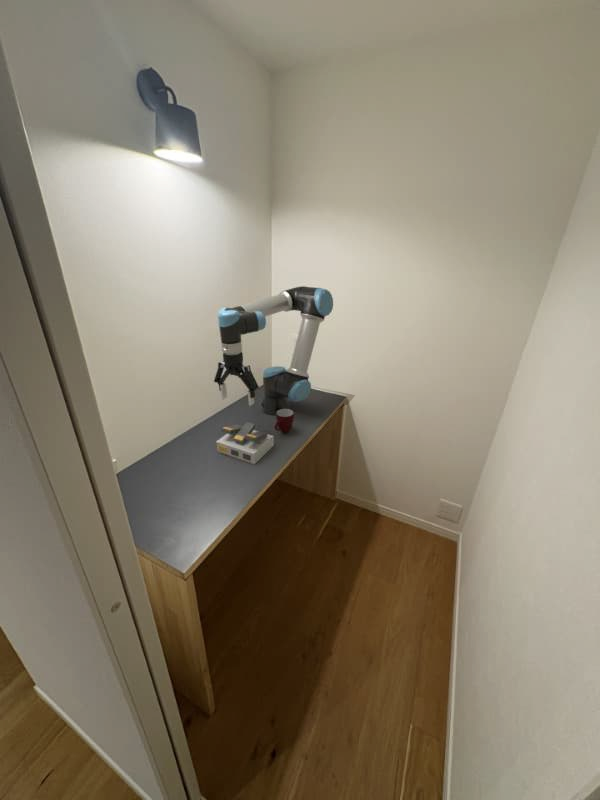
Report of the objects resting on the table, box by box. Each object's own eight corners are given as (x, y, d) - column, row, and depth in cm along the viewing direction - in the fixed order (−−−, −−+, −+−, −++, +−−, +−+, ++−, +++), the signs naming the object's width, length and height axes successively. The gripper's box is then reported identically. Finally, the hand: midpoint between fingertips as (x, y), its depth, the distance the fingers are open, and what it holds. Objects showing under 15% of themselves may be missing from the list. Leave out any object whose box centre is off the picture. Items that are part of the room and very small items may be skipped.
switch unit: (238, 434, 146) (237, 421, 143) (273, 445, 138) (273, 432, 135) (217, 451, 134) (215, 438, 131) (253, 464, 126) (252, 450, 123)
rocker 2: (247, 424, 137) (246, 421, 136) (255, 426, 135) (254, 423, 134) (234, 441, 131) (233, 438, 130) (243, 443, 129) (241, 441, 128)
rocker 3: (258, 434, 136) (259, 430, 135) (267, 437, 134) (267, 432, 134) (244, 439, 127) (245, 434, 126) (254, 442, 125) (254, 437, 125)
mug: (284, 440, 142) (284, 421, 138) (270, 435, 146) (269, 416, 142) (296, 429, 150) (296, 411, 146) (282, 425, 154) (282, 407, 150)
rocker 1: (236, 427, 141) (236, 423, 140) (244, 430, 139) (244, 426, 139) (221, 431, 132) (222, 427, 131) (229, 434, 130) (230, 430, 130)
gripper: (200, 350, 123) (208, 399, 133) (254, 359, 113) (258, 411, 123) (213, 345, 129) (219, 392, 139) (265, 353, 120) (268, 403, 129)
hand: (237, 401), depth 131 cm, fingers open, 13 cm apart
